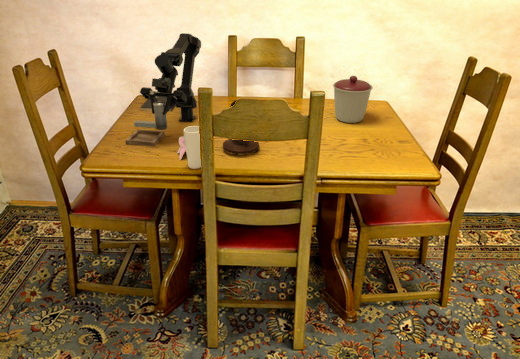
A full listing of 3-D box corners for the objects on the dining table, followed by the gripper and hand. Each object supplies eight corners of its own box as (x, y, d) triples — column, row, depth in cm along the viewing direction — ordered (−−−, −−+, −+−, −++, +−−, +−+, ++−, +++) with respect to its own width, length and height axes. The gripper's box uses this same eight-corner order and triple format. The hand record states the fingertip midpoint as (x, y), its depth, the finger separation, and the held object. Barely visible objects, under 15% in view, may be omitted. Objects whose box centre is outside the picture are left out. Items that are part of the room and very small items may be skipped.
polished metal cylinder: (158, 125, 191) (155, 100, 185) (168, 126, 190) (166, 100, 185) (154, 129, 186) (151, 104, 181) (165, 130, 186) (162, 104, 181)
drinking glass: (201, 171, 168) (198, 133, 161) (183, 169, 169) (180, 131, 162) (206, 163, 174) (204, 126, 167) (189, 161, 175) (187, 125, 168)
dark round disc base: (216, 147, 188) (214, 100, 178) (247, 140, 195) (247, 94, 185) (233, 160, 177) (232, 111, 167) (265, 152, 183) (266, 105, 174)
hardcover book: (140, 111, 227) (139, 107, 226) (153, 97, 248) (153, 93, 246) (171, 112, 226) (171, 108, 225) (182, 98, 246) (182, 94, 245)
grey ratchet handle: (133, 127, 207) (133, 122, 206) (137, 123, 210) (136, 119, 209) (163, 129, 205) (162, 124, 204) (166, 125, 208) (165, 121, 207)
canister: (366, 128, 208) (371, 83, 198) (326, 123, 213) (330, 79, 203) (370, 115, 223) (375, 72, 213) (333, 111, 228) (337, 69, 218)
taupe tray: (138, 134, 201) (137, 129, 200) (165, 136, 199) (164, 131, 198) (126, 145, 190) (125, 140, 189) (154, 147, 188) (153, 142, 187)
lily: (182, 149, 188) (170, 133, 182) (207, 140, 185) (196, 123, 179) (179, 169, 180) (167, 153, 173) (206, 160, 177) (194, 143, 170)
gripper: (139, 67, 183) (128, 102, 179) (182, 71, 178) (172, 107, 174) (150, 81, 193) (140, 114, 189) (191, 85, 189) (182, 119, 185)
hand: (158, 113), depth 184 cm, fingers closed on polished metal cylinder, 5 cm apart
